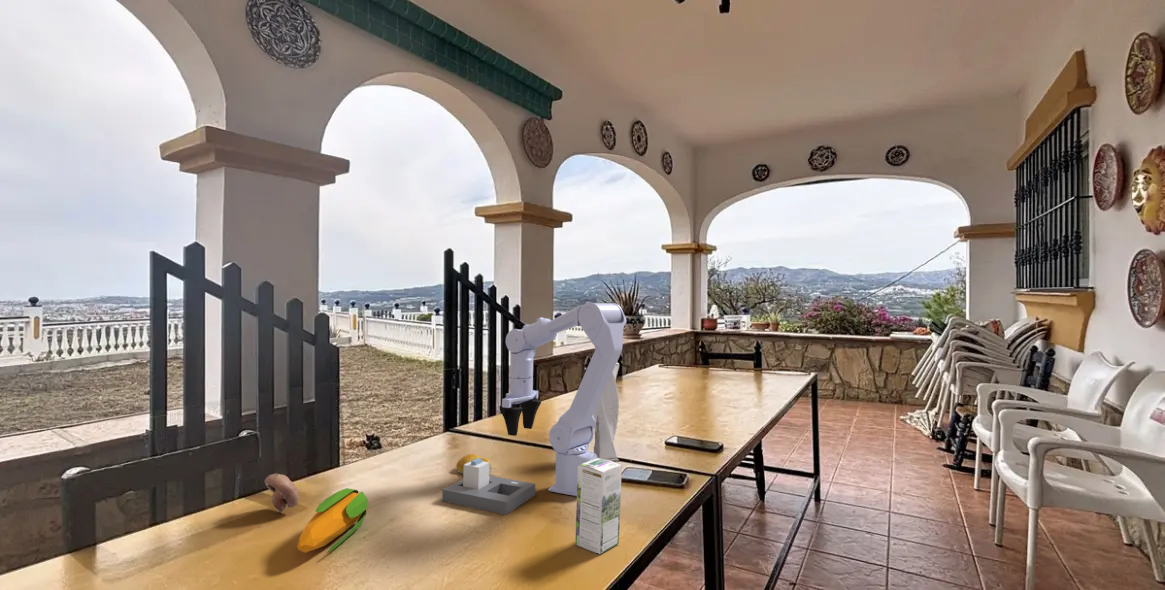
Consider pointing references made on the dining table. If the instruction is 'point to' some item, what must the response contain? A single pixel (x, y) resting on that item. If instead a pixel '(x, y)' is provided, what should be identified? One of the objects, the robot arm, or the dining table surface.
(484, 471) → the plug
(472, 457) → the bread roll
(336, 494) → the corn
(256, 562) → the dining table surface
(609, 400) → the skyscraper
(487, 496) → the port panel
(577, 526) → the syrup box
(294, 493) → the mushroom
